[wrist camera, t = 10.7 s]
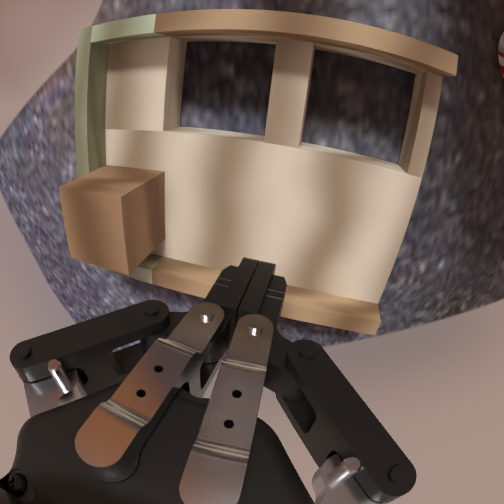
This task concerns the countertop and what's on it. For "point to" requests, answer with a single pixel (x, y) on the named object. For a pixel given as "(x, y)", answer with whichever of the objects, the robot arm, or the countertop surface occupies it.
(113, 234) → the walnut block
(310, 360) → the robot arm
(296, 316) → the trap lane
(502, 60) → the soda can
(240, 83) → the countertop surface
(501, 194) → the countertop surface
